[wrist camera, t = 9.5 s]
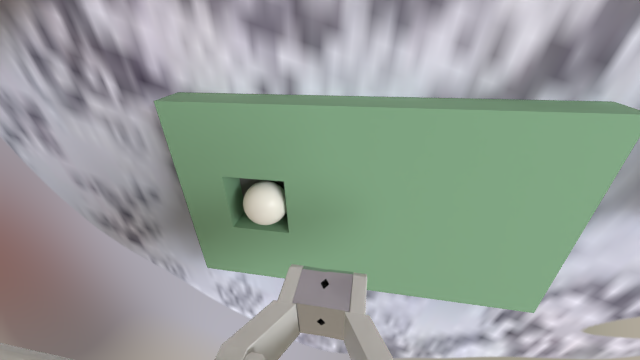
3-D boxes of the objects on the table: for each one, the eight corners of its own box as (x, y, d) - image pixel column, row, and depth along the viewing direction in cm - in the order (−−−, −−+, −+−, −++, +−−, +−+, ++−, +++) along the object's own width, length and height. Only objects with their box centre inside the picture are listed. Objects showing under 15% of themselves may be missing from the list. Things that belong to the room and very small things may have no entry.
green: (178, 92, 23) (153, 101, 21) (613, 101, 18) (652, 114, 15) (220, 248, 32) (207, 267, 30) (518, 285, 27) (533, 312, 24)
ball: (286, 171, 25) (243, 174, 25) (285, 195, 22) (235, 198, 22) (289, 206, 28) (250, 208, 27) (289, 232, 24) (243, 236, 24)
